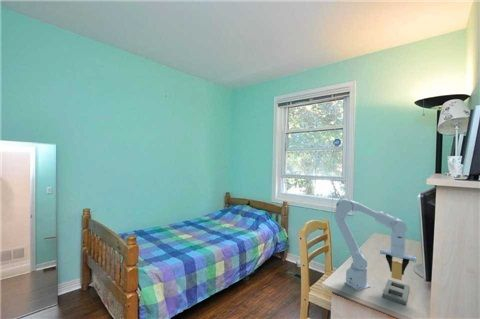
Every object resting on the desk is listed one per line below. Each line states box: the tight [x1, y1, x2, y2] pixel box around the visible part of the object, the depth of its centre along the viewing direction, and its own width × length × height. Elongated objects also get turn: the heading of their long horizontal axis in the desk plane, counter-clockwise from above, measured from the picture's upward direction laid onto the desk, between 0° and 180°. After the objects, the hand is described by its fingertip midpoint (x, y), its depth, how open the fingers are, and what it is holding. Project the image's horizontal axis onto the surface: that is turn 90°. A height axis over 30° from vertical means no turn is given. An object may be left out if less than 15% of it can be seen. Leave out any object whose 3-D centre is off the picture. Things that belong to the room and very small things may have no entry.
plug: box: [391, 259, 403, 281], centre depth 112 cm, size 4×4×8 cm
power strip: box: [381, 279, 410, 306], centre depth 111 cm, size 18×9×2 cm, turn 140°
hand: (396, 272), depth 112 cm, fingers closed on plug, 4 cm apart
